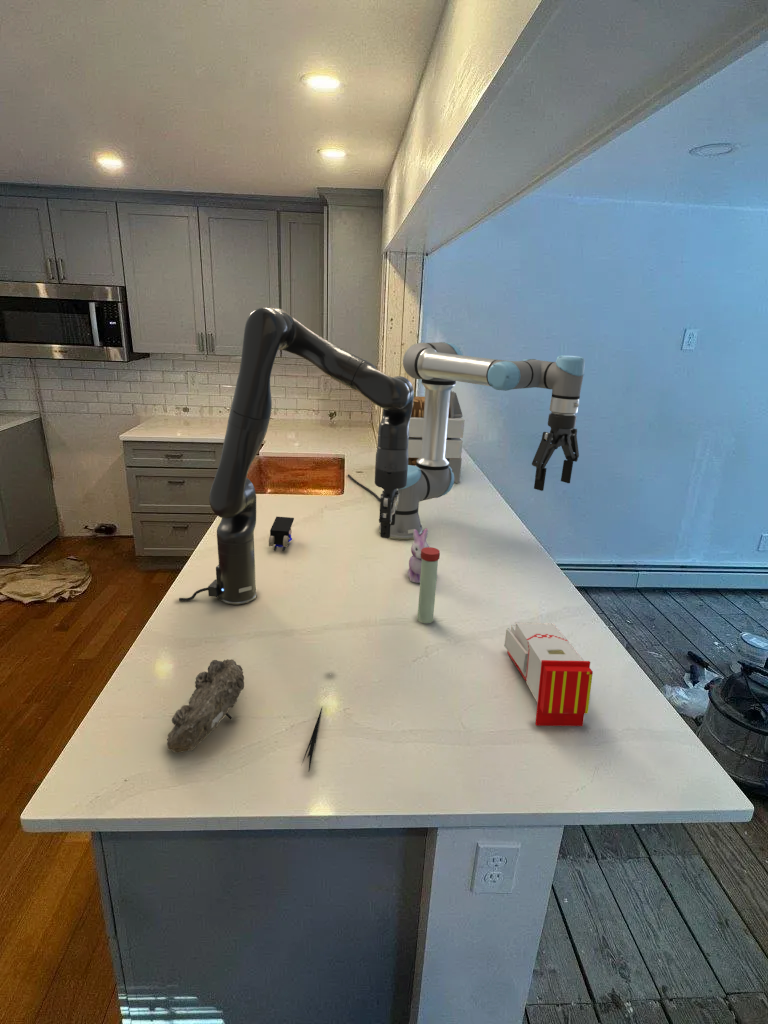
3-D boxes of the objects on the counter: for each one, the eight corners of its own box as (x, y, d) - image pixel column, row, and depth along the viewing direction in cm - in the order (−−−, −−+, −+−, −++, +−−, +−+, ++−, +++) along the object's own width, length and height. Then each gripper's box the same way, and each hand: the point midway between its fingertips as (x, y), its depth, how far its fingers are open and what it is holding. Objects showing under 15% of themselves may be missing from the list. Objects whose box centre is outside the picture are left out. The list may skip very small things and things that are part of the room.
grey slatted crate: (382, 463, 289) (386, 382, 275) (445, 464, 293) (451, 384, 279) (390, 482, 257) (394, 392, 243) (460, 483, 261) (468, 394, 247)
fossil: (192, 660, 117) (244, 628, 112) (224, 691, 120) (276, 661, 115) (142, 746, 98) (202, 712, 93) (182, 779, 101) (242, 748, 96)
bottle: (433, 616, 147) (438, 549, 141) (433, 624, 144) (438, 556, 137) (417, 614, 148) (422, 548, 141) (417, 622, 144) (422, 555, 137)
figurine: (415, 586, 162) (419, 538, 157) (398, 572, 170) (401, 525, 165) (443, 581, 166) (447, 533, 161) (425, 567, 175) (428, 521, 170)
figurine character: (289, 557, 180) (295, 534, 194) (288, 536, 177) (294, 515, 190) (268, 557, 180) (275, 534, 193) (266, 536, 177) (274, 514, 190)
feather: (331, 679, 122) (336, 673, 122) (307, 777, 96) (313, 769, 95) (324, 675, 122) (329, 669, 121) (298, 772, 95) (304, 764, 95)
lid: (439, 554, 142) (439, 547, 141) (439, 562, 137) (440, 555, 137) (420, 553, 142) (421, 546, 141) (420, 560, 138) (420, 553, 137)
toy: (550, 607, 134) (601, 667, 105) (545, 659, 137) (594, 732, 108) (499, 606, 134) (537, 666, 104) (495, 659, 137) (530, 731, 107)
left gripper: (380, 456, 138) (377, 519, 143) (370, 472, 124) (367, 540, 130) (411, 459, 137) (406, 522, 142) (404, 475, 124) (399, 543, 129)
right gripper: (548, 419, 148) (537, 496, 155) (598, 411, 163) (586, 482, 171) (525, 414, 153) (515, 489, 160) (575, 407, 169) (564, 476, 176)
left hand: (387, 530), depth 136 cm, fingers open, 8 cm apart
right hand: (552, 485), depth 166 cm, fingers open, 13 cm apart
